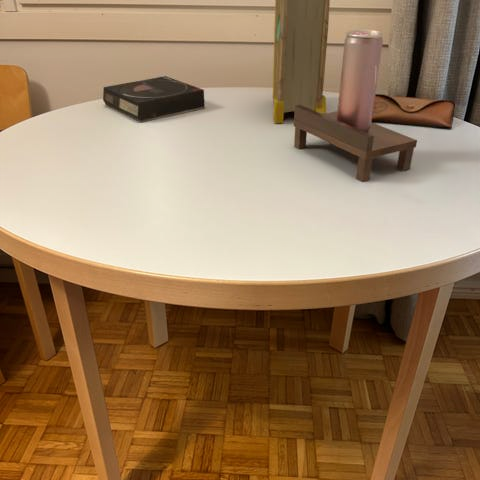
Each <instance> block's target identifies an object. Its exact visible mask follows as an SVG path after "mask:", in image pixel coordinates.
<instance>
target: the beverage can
mask: <svg viewBox="0 0 480 480" xmlns="http://www.w3.org/2000/svg"><path fill="white" fill-rule="evenodd" d="M383 36H384V34H383V32H382V31H378V30H374V29H353V30H348V31H347V32H346V36H345V39H344V42H343V43H344V45H343V53H342V54H343V55H342V64H341V74H340V82H339V83H340V84H339V93H338V103H337V110H336V111H337V120H338V121H340V122H342V123H345V124H347V125H349V126H352V127H354V128H357V129H359V130H361V131H364V132H367V131H368V130H369V129H370V127H371V122H372V123H373V121H372V115H373V108H374V101H375V94H377V86H378V80H379V70H380V66H381V58H382V53H383V52H382V50H383V44H384V40H383Z"/></svg>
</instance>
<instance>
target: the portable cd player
mask: <svg viewBox="0 0 480 480" xmlns="http://www.w3.org/2000/svg"><path fill="white" fill-rule="evenodd" d="M102 101H103V102H104V104H105V106H107V107H109V108H111V109H112V110H115V111H117V112H119V113H120V114H123V115H125V116H127V117H129V118H131V119H133V120H135V121H137V122H138V123H145V122H149V120H150V121H154V120H158V119H159V120H160V119H163V118H168V117H172V116H177V115H181V114H185V113H186V114H187V113H190V112H195V111H199V110H203V109H206V107H205V106H206V105H205V104H206V103H205V90H204V88H200V87H197V86H195V85H192V84H188V83H186V82H183V81H180V80H179V79H175V78H172V77H170V76H167V75H163V76H157V77H154V78H153V77H152V78H147V79H142V80H136V81H130V82H125V83H119V84H114V85H113V84H112V85H108V86H103V94H102Z"/></svg>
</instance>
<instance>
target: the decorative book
mask: <svg viewBox="0 0 480 480" xmlns="http://www.w3.org/2000/svg"><path fill="white" fill-rule="evenodd" d="M274 1H275V3H274V5H275V6H274V28H273V70H272V71H273V72H272V101H273V113H272V115H273V116H272V117H273V123H274V124H283V123H284V116H285V115H284V114H285V113H289V112H295V106H297V105H302V106H304V107H306V108H309V109H311V110H314V111H316V112H318V113H321V114H325V113H327V101H326V96H325V95H324V86H325V85H324V84H325V72H326V71H325V70H326V59H327V49H328V35H329V22H330V21H329V20H330V3H331V0H274Z"/></svg>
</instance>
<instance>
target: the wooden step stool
mask: <svg viewBox="0 0 480 480" xmlns="http://www.w3.org/2000/svg"><path fill="white" fill-rule="evenodd" d="M337 111H338V110H336V111H331V112H326V113H325V114H321V113H318V112H316V111H314V110H311V109H309V108H306V107H304V106H302V105H297V106H295V111H294V112H293V113H294V116H293V127H294V140H293V141H294V142H293V147H294V148H296V149H299V150H300V149H301V150H302V149H305V148H306V147H307V133H308V134H310V135H312V136H315V137H316V138H318V139H321V140H323V141H325V142H327V143H329V144H331V145H333V146H336V147H338V148H340V149H342V150H343V151H346V152H348V153H350V154H352V155H354V156H357V157H358V160H357V169H356V175H355V179H356V180H358V181H360V182H366V181H370V179H371V174H372V173H371V171H372V167H373V158H377V157H378V158H379V157H381V156H382V157H383V156H385V155H390V154H394V153H398V158H397V163H396V169H398V168H399V169H398V170H400V169H401V170H400V171H402V170H404V171H407V170H406V169H408V170H410V169H411V166H412V160H413V155H414V149H415V148H416V147H417V144H418V140H417V139H415V138H413V137H410V136H407V135H405V134H403V133H401V132H397V131H395V130H393V129H390V128H388V127H385V126H382V125H380V124H376V123H374V122H373V121H372V122H371V127H370V129H369V130H368V131H367V132H364V131H361V130H359V129H357V128H354V127H352V126H349V125H347V124H345V123H342V122H340V121H338V120H337ZM409 168H410V169H409Z"/></svg>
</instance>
